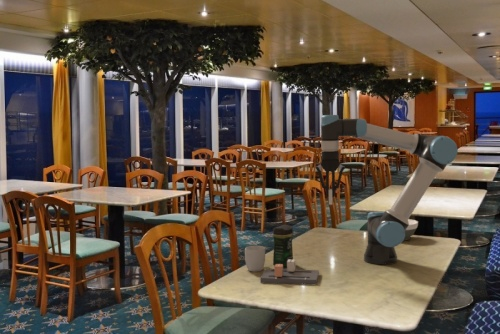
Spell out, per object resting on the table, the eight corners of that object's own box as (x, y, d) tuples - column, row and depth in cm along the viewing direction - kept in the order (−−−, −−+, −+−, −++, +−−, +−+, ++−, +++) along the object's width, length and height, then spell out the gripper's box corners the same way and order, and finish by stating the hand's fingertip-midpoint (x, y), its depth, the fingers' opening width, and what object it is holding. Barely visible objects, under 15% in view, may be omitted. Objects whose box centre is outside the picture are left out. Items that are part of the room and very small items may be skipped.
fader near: (283, 274, 230) (282, 263, 230) (281, 276, 227) (281, 266, 226) (276, 273, 231) (275, 263, 231) (274, 276, 227) (274, 266, 227)
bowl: (375, 235, 310) (375, 219, 309) (409, 234, 312) (409, 217, 311) (388, 243, 290) (388, 225, 290) (423, 241, 293) (424, 224, 292)
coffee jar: (285, 269, 247) (285, 228, 245) (270, 266, 251) (269, 226, 250) (296, 263, 255) (295, 224, 253) (281, 261, 259) (280, 222, 258)
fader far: (295, 269, 237) (295, 259, 237) (294, 271, 234) (294, 261, 233) (288, 268, 238) (288, 259, 238) (287, 271, 234) (286, 261, 234)
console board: (318, 274, 237) (318, 269, 237) (316, 284, 223) (316, 279, 222) (266, 272, 242) (265, 267, 241) (260, 283, 227) (260, 277, 227)
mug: (259, 273, 241) (259, 251, 240) (241, 271, 245) (241, 249, 244) (272, 266, 252) (271, 244, 251) (255, 264, 256) (254, 243, 255)
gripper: (345, 149, 242) (345, 202, 244) (315, 150, 244) (316, 202, 246) (345, 150, 234) (345, 205, 237) (314, 151, 237) (315, 205, 239)
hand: (330, 204), depth 241 cm, fingers closed
